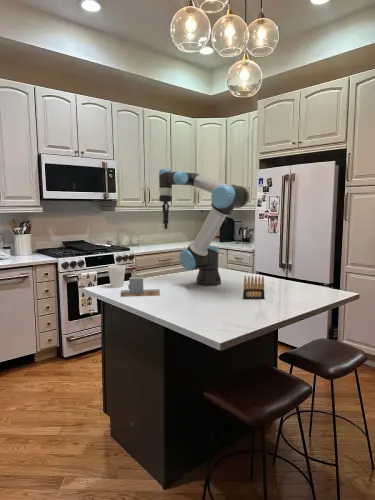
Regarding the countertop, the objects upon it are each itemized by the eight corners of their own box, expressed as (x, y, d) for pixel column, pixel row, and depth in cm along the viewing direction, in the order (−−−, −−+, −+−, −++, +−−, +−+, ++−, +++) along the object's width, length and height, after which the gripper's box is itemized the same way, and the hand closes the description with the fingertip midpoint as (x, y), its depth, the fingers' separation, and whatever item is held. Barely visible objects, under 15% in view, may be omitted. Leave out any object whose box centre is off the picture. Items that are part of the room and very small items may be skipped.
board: (158, 292, 194) (158, 289, 194) (160, 298, 181) (160, 295, 181) (121, 293, 191) (121, 290, 191) (120, 299, 179) (120, 296, 178)
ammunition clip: (263, 298, 182) (264, 275, 180) (264, 299, 180) (265, 275, 178) (242, 298, 182) (243, 275, 180) (243, 299, 180) (243, 275, 179)
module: (143, 291, 188) (143, 276, 187) (143, 293, 184) (143, 278, 183) (128, 292, 187) (128, 277, 186) (128, 294, 183) (128, 279, 182)
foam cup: (113, 291, 195) (112, 268, 193) (105, 288, 202) (105, 266, 200) (128, 289, 201) (128, 266, 199) (120, 286, 208) (120, 264, 206)
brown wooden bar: (159, 291, 189) (159, 289, 188) (159, 292, 186) (159, 290, 186) (121, 293, 186) (121, 290, 186) (120, 294, 184) (120, 291, 183)
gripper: (158, 195, 222) (159, 233, 225) (159, 194, 209) (160, 234, 212) (170, 195, 223) (170, 233, 226) (172, 194, 210) (172, 234, 213)
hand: (165, 233), depth 219 cm, fingers closed
